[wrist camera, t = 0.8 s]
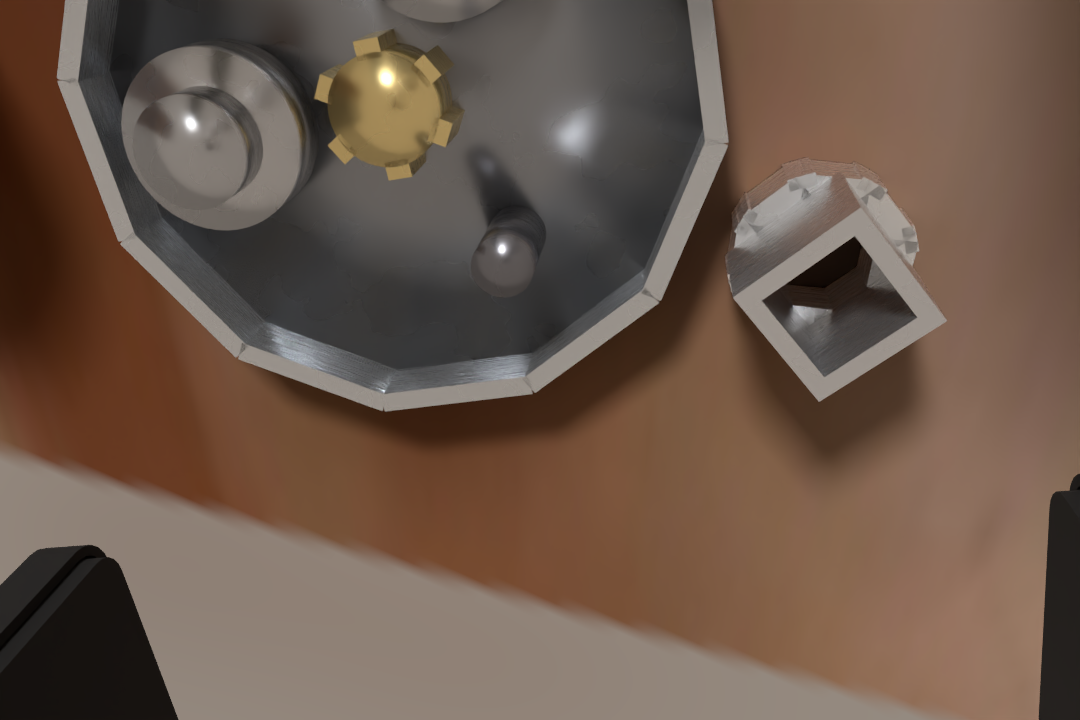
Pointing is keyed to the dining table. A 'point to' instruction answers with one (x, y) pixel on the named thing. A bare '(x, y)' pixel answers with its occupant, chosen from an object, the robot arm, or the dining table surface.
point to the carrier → (402, 176)
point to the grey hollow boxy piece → (851, 301)
